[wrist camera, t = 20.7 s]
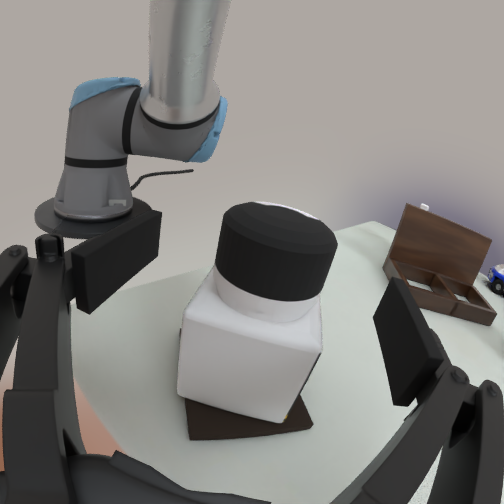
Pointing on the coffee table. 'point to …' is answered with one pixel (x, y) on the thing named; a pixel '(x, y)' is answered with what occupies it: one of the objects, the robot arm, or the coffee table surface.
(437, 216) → the rack
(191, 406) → the mat
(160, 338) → the coffee table surface
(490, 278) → the toy car
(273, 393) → the medicine bottle
